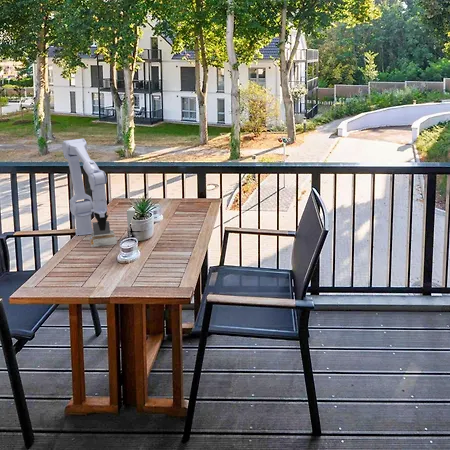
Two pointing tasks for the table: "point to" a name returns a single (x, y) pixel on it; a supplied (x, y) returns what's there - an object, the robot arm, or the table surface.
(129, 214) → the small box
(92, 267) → the table surface
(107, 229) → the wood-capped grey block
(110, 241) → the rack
